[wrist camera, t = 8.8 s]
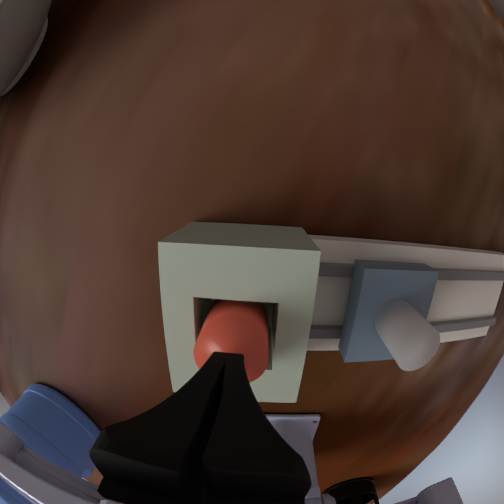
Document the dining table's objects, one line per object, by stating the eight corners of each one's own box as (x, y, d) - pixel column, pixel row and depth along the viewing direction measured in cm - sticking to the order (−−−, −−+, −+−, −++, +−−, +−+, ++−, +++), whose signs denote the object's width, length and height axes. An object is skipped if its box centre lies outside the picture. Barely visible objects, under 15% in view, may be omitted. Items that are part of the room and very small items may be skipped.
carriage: (403, 343, 19) (435, 388, 13) (338, 347, 19) (358, 400, 13) (425, 263, 17) (472, 292, 11) (354, 259, 17) (391, 293, 12)
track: (477, 332, 21) (511, 364, 14) (195, 338, 22) (173, 391, 16) (501, 247, 19) (545, 266, 12) (193, 221, 20) (157, 241, 13)
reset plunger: (265, 345, 16) (265, 387, 13) (209, 341, 17) (195, 381, 13) (270, 294, 16) (271, 329, 12) (208, 290, 16) (191, 323, 12)
